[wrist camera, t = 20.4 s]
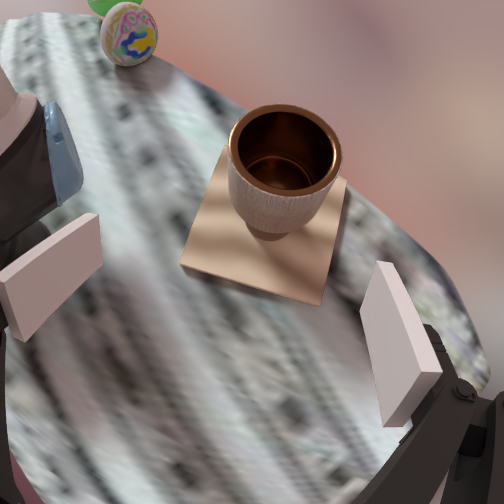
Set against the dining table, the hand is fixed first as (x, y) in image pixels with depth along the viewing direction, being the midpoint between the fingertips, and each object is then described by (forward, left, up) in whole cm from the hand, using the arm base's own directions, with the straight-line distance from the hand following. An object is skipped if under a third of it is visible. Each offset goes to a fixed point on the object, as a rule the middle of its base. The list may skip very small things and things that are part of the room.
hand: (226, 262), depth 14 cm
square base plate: (+12, +8, -30) cm, 33 cm away
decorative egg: (+14, +57, -30) cm, 65 cm away
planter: (+12, +8, -20) cm, 24 cm away
